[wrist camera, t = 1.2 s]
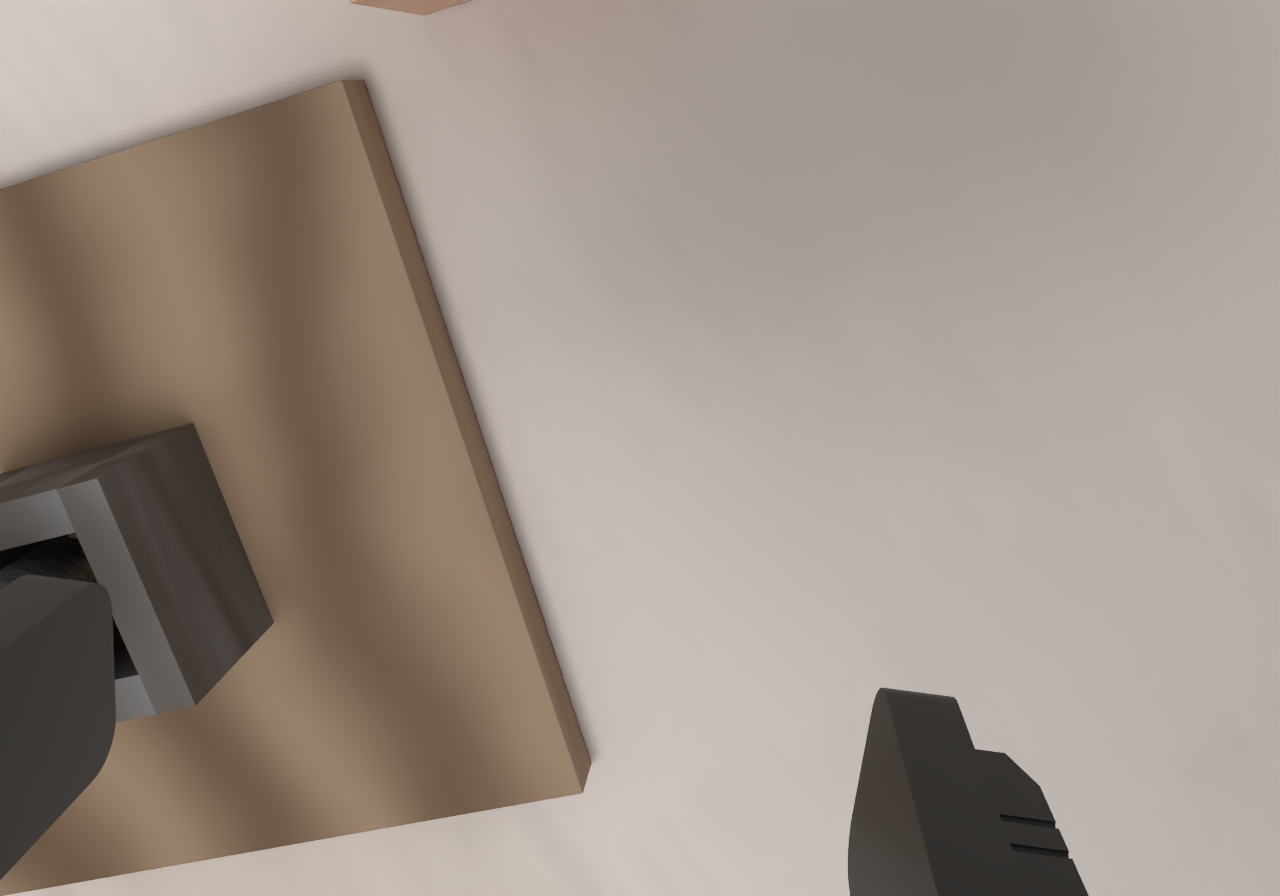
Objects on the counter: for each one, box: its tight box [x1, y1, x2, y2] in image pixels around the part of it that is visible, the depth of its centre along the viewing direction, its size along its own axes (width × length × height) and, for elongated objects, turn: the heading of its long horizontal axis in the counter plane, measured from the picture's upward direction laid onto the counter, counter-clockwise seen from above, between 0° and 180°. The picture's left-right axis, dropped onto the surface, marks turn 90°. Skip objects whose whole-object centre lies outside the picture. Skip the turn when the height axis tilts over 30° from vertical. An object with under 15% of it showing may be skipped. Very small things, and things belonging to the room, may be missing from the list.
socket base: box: [0, 80, 591, 896], centre depth 31 cm, size 20×20×6 cm
